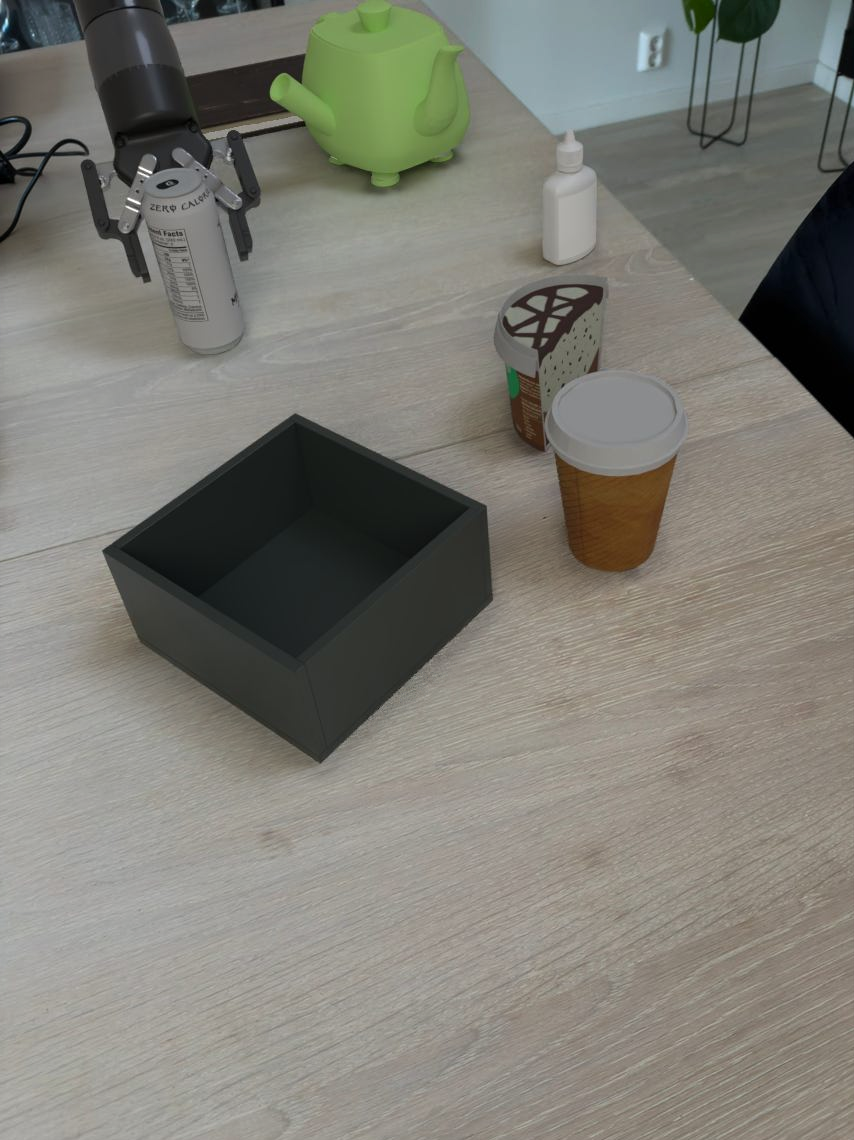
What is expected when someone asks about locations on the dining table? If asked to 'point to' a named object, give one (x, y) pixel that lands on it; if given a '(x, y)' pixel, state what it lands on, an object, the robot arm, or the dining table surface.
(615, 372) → the disposable coffee cup
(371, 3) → the teapot
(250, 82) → the hardcover book
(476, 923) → the dining table surface
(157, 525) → the bin
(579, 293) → the food container
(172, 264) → the energy drink can
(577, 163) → the eye dropper bottle
